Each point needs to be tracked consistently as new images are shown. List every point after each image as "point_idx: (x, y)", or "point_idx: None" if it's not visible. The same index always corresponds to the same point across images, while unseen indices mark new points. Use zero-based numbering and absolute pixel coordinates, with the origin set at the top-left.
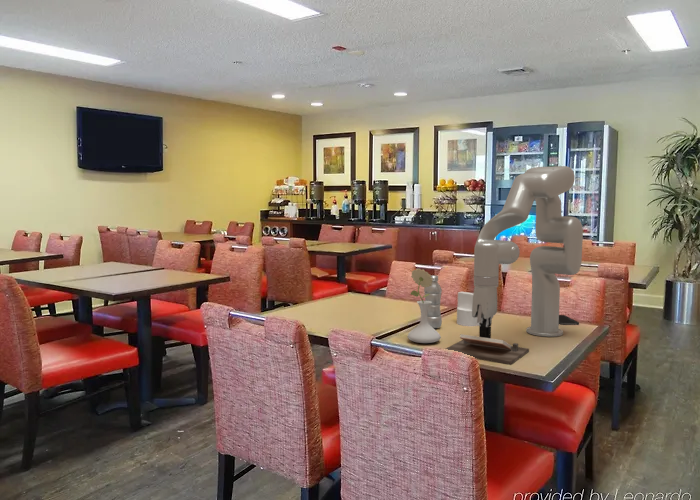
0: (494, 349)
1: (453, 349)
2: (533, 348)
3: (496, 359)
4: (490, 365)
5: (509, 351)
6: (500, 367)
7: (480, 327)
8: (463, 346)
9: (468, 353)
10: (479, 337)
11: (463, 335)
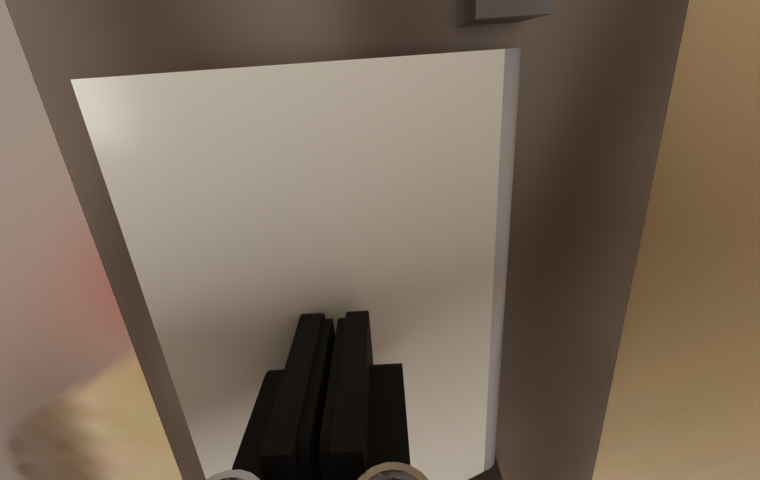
0: None
1: (106, 14)
2: (684, 471)
3: (172, 443)
4: (85, 424)
5: None
6: (104, 475)
7: (269, 450)
8: (318, 49)
9: (116, 230)
10: (175, 387)
11: (95, 149)
